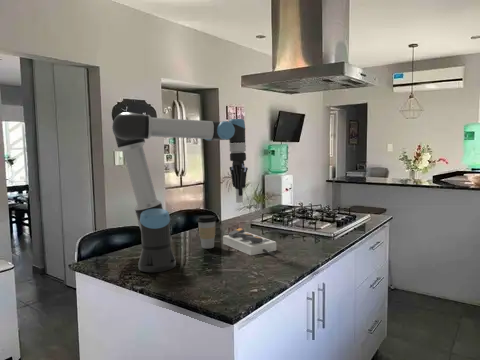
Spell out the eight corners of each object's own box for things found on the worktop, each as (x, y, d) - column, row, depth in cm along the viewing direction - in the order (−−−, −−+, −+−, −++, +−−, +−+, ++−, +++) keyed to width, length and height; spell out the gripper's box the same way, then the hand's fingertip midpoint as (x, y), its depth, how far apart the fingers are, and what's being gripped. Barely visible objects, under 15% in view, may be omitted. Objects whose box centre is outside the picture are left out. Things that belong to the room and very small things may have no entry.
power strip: (260, 259, 167) (260, 248, 166) (223, 243, 196) (222, 234, 195) (286, 254, 174) (286, 243, 173) (246, 239, 203) (246, 230, 203)
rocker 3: (249, 240, 176) (250, 236, 176) (244, 239, 180) (245, 235, 180) (262, 242, 180) (262, 238, 180) (257, 240, 183) (258, 236, 183)
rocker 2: (240, 237, 183) (241, 233, 183) (236, 235, 187) (236, 232, 187) (252, 238, 187) (253, 235, 187) (248, 237, 190) (249, 233, 190)
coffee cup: (194, 248, 189) (193, 217, 187) (205, 243, 197) (204, 214, 196) (211, 250, 184) (209, 219, 183) (221, 245, 192) (220, 215, 191)
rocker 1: (232, 237, 190) (232, 234, 190) (229, 236, 194) (228, 232, 194) (244, 232, 194) (243, 229, 193) (240, 230, 197) (239, 227, 197)
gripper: (252, 152, 178) (253, 203, 180) (237, 152, 189) (239, 200, 192) (238, 152, 174) (239, 204, 177) (224, 152, 186) (225, 201, 188)
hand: (239, 202), depth 184 cm, fingers closed
